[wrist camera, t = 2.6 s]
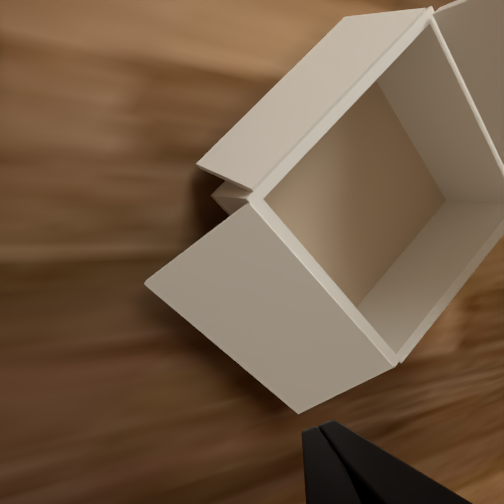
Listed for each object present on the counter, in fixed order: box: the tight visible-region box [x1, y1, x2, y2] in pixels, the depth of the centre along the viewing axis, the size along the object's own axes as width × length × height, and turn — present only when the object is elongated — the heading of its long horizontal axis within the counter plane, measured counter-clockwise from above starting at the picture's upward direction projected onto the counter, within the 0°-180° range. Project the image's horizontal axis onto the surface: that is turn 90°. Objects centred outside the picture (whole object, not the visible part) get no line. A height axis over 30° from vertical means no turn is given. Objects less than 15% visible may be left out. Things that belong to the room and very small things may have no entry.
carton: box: [144, 6, 504, 414], centre depth 19 cm, size 17×15×5 cm
